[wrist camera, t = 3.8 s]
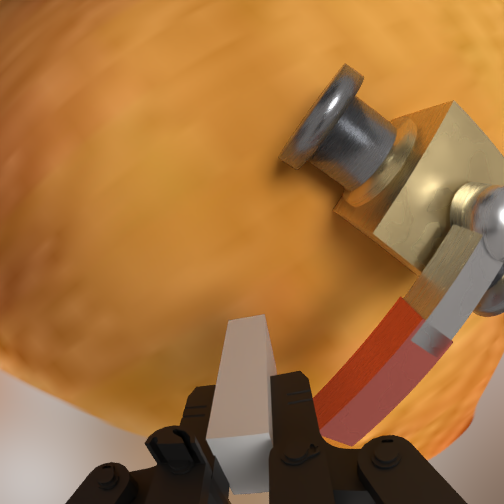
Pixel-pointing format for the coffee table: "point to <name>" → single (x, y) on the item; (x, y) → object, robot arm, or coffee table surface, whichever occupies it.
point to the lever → (418, 320)
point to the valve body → (397, 170)
